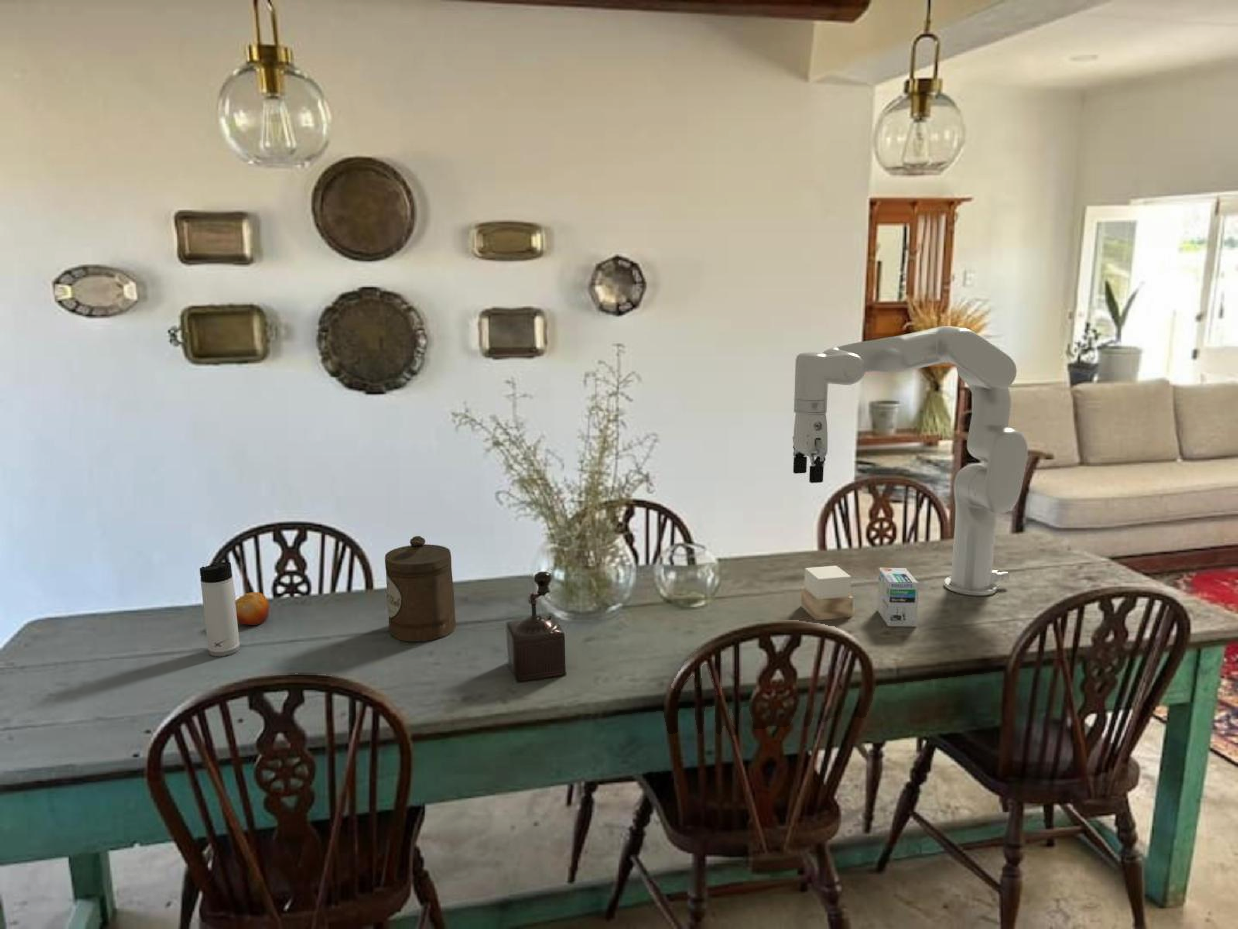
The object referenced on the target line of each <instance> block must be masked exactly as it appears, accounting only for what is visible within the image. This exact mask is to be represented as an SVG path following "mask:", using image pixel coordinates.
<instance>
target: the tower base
mask: <svg viewBox="0 0 1238 929" xmlns="http://www.w3.org/2000/svg"><path fill="white" fill-rule="evenodd" d="M800 600H801V601H800V607H801V606H802V607H801V608H802V609H803V610H805V611H806V612H807V614H808V615H810V617H812V618H813V619H815V621H821V620H822V621H823V620H830V619H831V620H832V619H833V620H834V619H842V618H843V619H844V617H846V618H853V607H854V606H853V605H854V597H853V595H852V596H851V595H850V597H842V598H830V599H819V600H818V599H817V598H816V597H814V596H813V595H812V594H811V593H810V592H808V591H807V590H806V589H805V588H804V586H803V587H801V597H800Z"/></svg>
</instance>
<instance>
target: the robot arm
mask: <svg viewBox="0 0 1238 929" xmlns="http://www.w3.org/2000/svg"><path fill="white" fill-rule="evenodd" d="M945 363H946V364H950V365H951V364H953V365H955V366H956V367H955V368H956V371H957V374H958V376H959V378H960V379H961V380H962V381H963V382H964V383H965V384H966V385H967V386H968V388H969V390H970V392H971V395H972V399H973V400H972V402H973V403H972V413H971V418H970V424H969V428H968V429H969V430H968V434H967V441H966V449H967V452H968V454H970V455H971V457H973V458H975V459H976V460H979V461H981V462H984V463H987V466H985V465H982V464H976V463H975V464H974V463H973V464H968V465H966V466H963V467H962V468H961V469H959V470H958V472H957V474H956V475H955V478H954V482H953V493H954V495H953V496H954V502H955V503H954V504H955V515H954V516H955V520H954V534H953V548H952V560H951V561H952V562H951V574H950V576H948V577H946V578H944V580H943V585H944V587H945V588H946V589H947V590H950V591H952V592H954V593H957V594H961V595H967V596H977V597H978V596H979V597H980V596H981V597H982V596H989V595H993V594H995V593H996V592H997V591H998V585H997V583H996V582H998V581H1000V580H1001V581H1005V580H1009V578H1010V574H1009V572H1008V571H1002V572H1001V571H1000V572H999V571H998V570H996V569H995V570H993V560H994V549H995V537H996V530H997V529H996V526H997V518H996V514H1004V513H1007V512H1009V511H1010V510H1012V509H1013V508H1014V507H1015V505H1017V502H1018V501H1019V499H1020V496H1021V493H1022V492H1021V491H1022V486H1023V482H1024V477H1025V471H1026V466H1027V461H1028V455H1029V454H1028V453H1029V448H1028V443H1027V440H1026V438H1025V436H1024V435H1023V434H1022V433H1021V432H1020V431H1018V430H1016V429H1014V428H1011V427H1009V423H1010V422H1009V421H1010V414H1011V407H1012V406H1011V405H1012V400H1011V392H1010V390H1009V387H1010V386H1012V384H1013V382H1014V381H1015V379H1016V377H1017V366H1016V363H1015V360H1014V359H1012V357H1011V356H1009V355H1008V354H1007V353H1006V352H1004V351H1003V350H1001V349H1000V348H998V347H996V346H995V345H993V343H991V342H989V341H988V340H986V339H985V338H984V337H982V336H981V335H979V334H978V333H976V332H974V331H973V330H971V329H968V328H964V327H959V326H958V327H957V326H951V325H942V326H938V327H937V326H936V327H932V328H927V329H923V330H920V331H919V330H918V331H915V332H911V333H905V334H901V335H896V336H889V337H883V338H878V339H872V340H865V341H858V342H853V343H848V344H843V345H839V346H834V347H832V348H828V349H826V350H824V351H823V352H815V351H814V352H811V351H809V352H802V353H799V354H797V355H796V358H795V370H794V371H795V374H794V397H793V399H794V401H793V413H795V417H794V426H793V436H792V442H793V445H792V448H793V452H792V453H793V454H792V456H793V465H792V466H793V468H792V469H793V470H792V471H793V474H796V475H797V474H806V473H807V468H808V467H807V466H808V464H807V463H808V457H809V460H810V464H811V465H809V474H808V475H809V478H808V480H809V481H808V482H809V483H811V484H820V483H823V482H824V467H825V461H826V456H827V455H828V446H829V445H828V443H829V442H828V419H827V412H828V392H829V389H828V388H829V384H831V385H842V386H850V385H854V384H857V383H859V382H860V381H861V380H862V379H863V378H864V375H865V374H866V373H869V372H870V373H872V372H874V373H875V372H880V373H892V374H893V373H905V372H909V371H913V370H916V369H922V368H926V367H929V366H935V365H939V364H945Z"/></svg>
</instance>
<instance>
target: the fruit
mask: <svg viewBox="0 0 1238 929" xmlns="http://www.w3.org/2000/svg"><path fill="white" fill-rule="evenodd" d="M235 606H236V615H237V623H240V624H242V625H246V626H259V625H261V624H264V623H265V622H267V619H269V612H270V611H269V610H270V605H269V601H268V599H267V597H266V595H265V594H263V593H262V592H257V591H255V592H247V593H245V594H243V595H241V596H239V597H238V598H237V599H235Z"/></svg>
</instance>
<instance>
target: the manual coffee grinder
mask: <svg viewBox="0 0 1238 929" xmlns="http://www.w3.org/2000/svg"><path fill="white" fill-rule="evenodd" d="M552 580H553V576H552V574H551V573H550V572H549V571H539V572H537V573H535V574H534V576H533V581H534V583H535V584H536V585H537V587H538V588H537V591H536V593H533V592H532V593H530V595H529V596H528V597H526V601H527V602H528V604H529V605H531V606H530V607H531V615H530V616H528V617H525V618H523V619H516V620H510V621H506V622H505V628H506V630H505V631H506V632H505V633H506V647H507V649H506V650H507V657H508V658H507V662H508V667H509V669H510V672H511V674H512V676H513V678H514V680H516V682H517V684H518V683H527V682H534V681H542V680H548V679H554V678H555V679H556V678H561V677H566V676H567V672H566V669H567V668H566V637H565V636H566V635H565V632H564V631H563V628H562V627H561V625H560V624H559V622H558V621H557V619H556V618H555V617H554V615H552V614H550V615H546V616H545V615H540V614H538V615H537V604H538V599H537V598H540V597H541V596H542V597H545V596H546V595H547V594H549V593H551V590H550V587H549V586H550V584H551V582H552Z"/></svg>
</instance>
